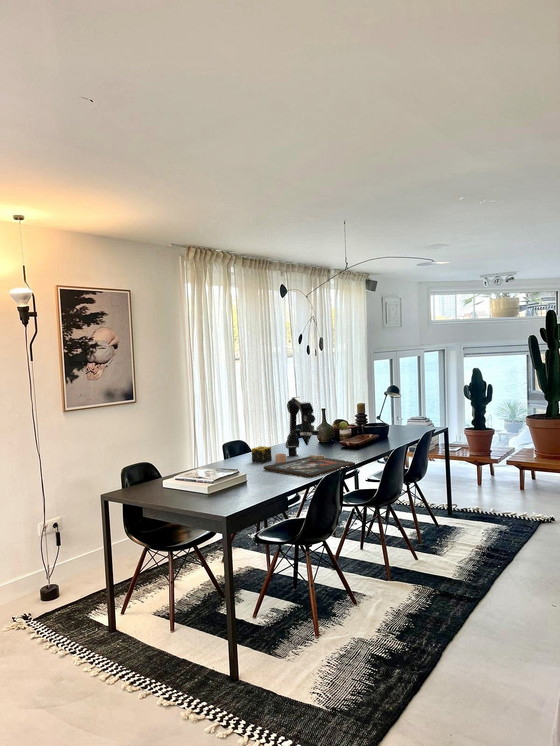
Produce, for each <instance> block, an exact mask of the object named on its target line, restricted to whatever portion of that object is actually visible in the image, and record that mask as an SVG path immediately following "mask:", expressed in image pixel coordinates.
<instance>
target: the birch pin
mask: <svg viewBox="0 0 560 746" xmlns="http://www.w3.org/2000/svg"><path fill="white" fill-rule="evenodd" d="M308 457H309V459H310V460H325V458H326V456H325V455H322V454H321V455H320V454H310V455H309V456H308Z"/></svg>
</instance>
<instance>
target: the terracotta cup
mask: <svg viewBox="0 0 560 746" xmlns="http://www.w3.org/2000/svg"><path fill="white" fill-rule="evenodd" d="M274 455H275V456H274V457H275V458H274V459H275V464H277V463H282V462H287V454H286V453H275V454H274Z"/></svg>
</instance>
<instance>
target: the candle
mask: <svg viewBox="0 0 560 746" xmlns="http://www.w3.org/2000/svg"><path fill="white" fill-rule="evenodd" d="M271 461H273V457H272V447H271V446H261V445H259V446H257V447H253V448H251V462H252V463H255V464H265V463H268V462H271Z"/></svg>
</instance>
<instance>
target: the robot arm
mask: <svg viewBox="0 0 560 746" xmlns="http://www.w3.org/2000/svg"><path fill="white" fill-rule="evenodd" d="M286 408H287V412H288V413H289V433H288V435H287V436H286V437H287V438H286V442H285V449H287V450H288V451H287V453H288V455H289V456H288V457H290V458H291V457H293V458H295V457H298V455H299V454H297V448H300V438H299V437H301V438H302V440H303V442H304V444H305V446H309V444H310V443H309V442H310V440H311V437H312V436H320V435H322V430H321V429H315V425H312V424H313V423H315V421H316V416H315V415H314V409H313V406H312V404H311V402H310V401H305V400H303V399H302V398H301V397H300V396H293V397H292V398H291V399H290V400H289V401H288V402H287V403H286ZM299 412H300V417H301V418H300V419H301V423H300V426H301V429H299V428H297V414H298V413H299ZM298 434H300V435H299V437H298Z"/></svg>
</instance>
